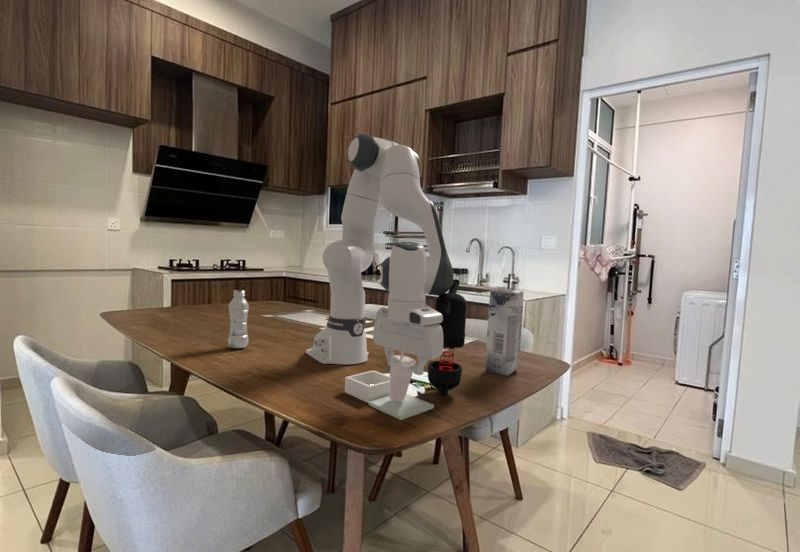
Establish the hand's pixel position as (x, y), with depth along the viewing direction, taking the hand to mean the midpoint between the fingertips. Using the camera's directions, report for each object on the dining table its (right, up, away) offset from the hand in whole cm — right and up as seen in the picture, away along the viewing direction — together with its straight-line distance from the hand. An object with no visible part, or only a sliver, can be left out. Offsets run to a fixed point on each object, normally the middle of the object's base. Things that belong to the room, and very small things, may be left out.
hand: (404, 369), depth 100 cm
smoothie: (-2, -7, +2) cm, 8 cm away
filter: (+10, -9, +10) cm, 17 cm away
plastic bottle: (-57, -3, +46) cm, 74 cm away
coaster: (-1, -9, +1) cm, 9 cm away
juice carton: (+31, -8, +34) cm, 47 cm away
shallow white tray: (-9, -8, +9) cm, 15 cm away
